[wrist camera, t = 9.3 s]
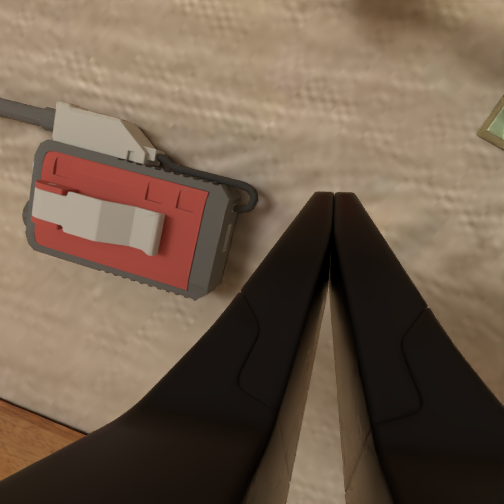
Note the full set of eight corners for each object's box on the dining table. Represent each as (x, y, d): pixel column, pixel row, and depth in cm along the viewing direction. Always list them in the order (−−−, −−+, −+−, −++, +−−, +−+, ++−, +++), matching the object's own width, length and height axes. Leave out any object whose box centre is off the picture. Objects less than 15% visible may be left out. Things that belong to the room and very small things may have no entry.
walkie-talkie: (273, 155, 21) (-26, 82, 24) (258, 145, 16) (-104, 58, 19) (237, 299, 22) (-37, 215, 25) (215, 325, 18) (-111, 220, 21)
